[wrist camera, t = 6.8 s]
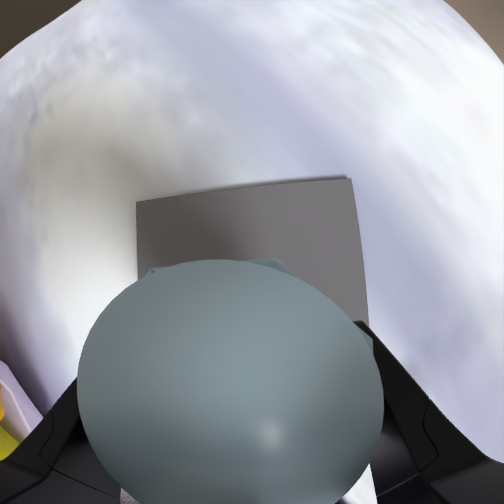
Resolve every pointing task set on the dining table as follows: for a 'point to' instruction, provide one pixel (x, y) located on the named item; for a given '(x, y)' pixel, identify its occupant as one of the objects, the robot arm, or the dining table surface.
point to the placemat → (264, 234)
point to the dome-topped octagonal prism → (229, 388)
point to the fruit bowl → (14, 413)
